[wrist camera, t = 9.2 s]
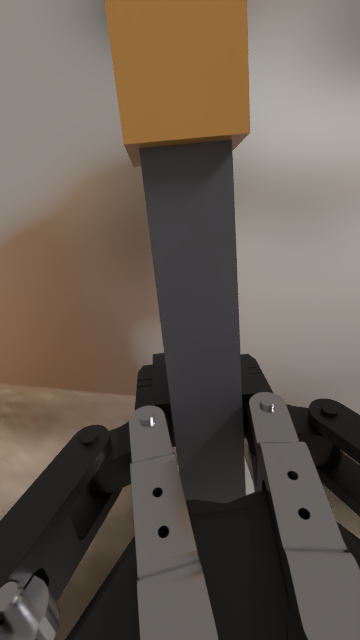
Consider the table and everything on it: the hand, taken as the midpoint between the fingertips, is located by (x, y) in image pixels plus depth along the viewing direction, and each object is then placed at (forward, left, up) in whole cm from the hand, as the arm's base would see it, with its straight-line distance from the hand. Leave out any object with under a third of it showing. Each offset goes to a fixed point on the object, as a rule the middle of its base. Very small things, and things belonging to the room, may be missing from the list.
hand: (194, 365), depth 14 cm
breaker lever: (+2, +4, -10) cm, 11 cm away
